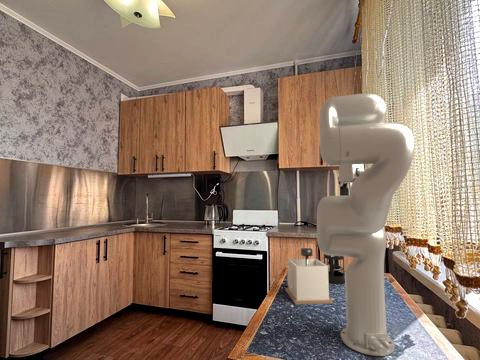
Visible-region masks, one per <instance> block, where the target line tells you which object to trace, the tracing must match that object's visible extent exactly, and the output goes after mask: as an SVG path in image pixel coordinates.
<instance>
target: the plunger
mask: <svg viewBox="0 0 480 360" xmlns="http://www.w3.org/2000/svg"><path fill="white" fill-rule="evenodd" d="M313 254H314V253H313V248H310V247H301V248H300V255H301V256H303V257H304V259H305V266H309V260H308V259H309V257H313V256H314V255H313Z"/></svg>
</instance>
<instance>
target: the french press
mask: <svg viewBox="0 0 480 360" xmlns="http://www.w3.org/2000/svg"><path fill="white" fill-rule="evenodd" d="M326 259H327V260H329V264H326ZM340 260H341V261H342V265H340ZM323 263H324V264H325V265H327V266H328V281H329V284H332V285H344V284H345V256H331V255H326V254H323ZM341 271H342V272H341Z"/></svg>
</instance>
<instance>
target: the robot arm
mask: <svg viewBox="0 0 480 360" xmlns="http://www.w3.org/2000/svg"><path fill="white" fill-rule="evenodd" d="M386 112H387V105H386V102H385V101H384V99H383V98H382V97H381V96H379V95H377V94H374V93H370V92H369V93H368V92H367V93H366V92H365V93H356V94H349V95H339V96H332V97H329V98H327V99H325V101H324V102H323V104H322V105H321V108H320V111H319V127H318V129H319V151H320V153H319V154H320V157H321V159H322V161H323V162H324V163H326V164H327V165H330V166H338V177H337V180H338V181H337V182H338V183H337V184H338V188H339V195H327V196H324V197H322V198H320V200H319V202H318V204H317V209H316V241H317V242H316V243H317V245H318V249H319V251H320V252H321V253H322V254H323V255H324V254H326V255H331V257H333V256H344V257H346V258H349V257H350V258H353V259H352V261H351V262H350V263H349V264H348V265H347V267H346V268H345V271H344V273H345V283H344V284H345V285H344V286H345V289H344V290H345V316H346V327H343V329H342V330H341V331H340V338H341V341H342V343H344V344H345V345H346V346H347V347H348V348H350V349H352V350H353V351H355V352H359V353H361V354H364V355H369V356H373V357H374V356H375V357H385V356H389V355H390V354H392V353H393V352H394V351H395V343H394V341H393V340H392V338H390V337H389V334H388V333H387V315H386V313H387V311H386V295H385V294H386V293H385V257H386V249H387V232H386V231H385V229H384V226H385V225H386V222H387V219H388V216H389V213H390V209H391V204H392V201H393V197H394V195H395V193H396V191H397V189H398V188H399V187H400V185H401V184H402V183H403V181H404V179H405V178H406V176H407V174H408V173H409V170H410V168H411V165H412V162H413V157H414V152H415V138H414V135H413V132H412V131H411V129H410V128H409V127H407V126H406V125H403V124H401V123H395V122H394V123H393V122H385V115H386ZM369 164H370V165H371V166H370V167H368V168H366V169H365V166H364V165H369ZM350 183H351V186H350V190H349V188H348V186H349V185H350ZM349 192H350V193H349Z"/></svg>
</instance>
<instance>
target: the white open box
mask: <svg viewBox="0 0 480 360" xmlns="http://www.w3.org/2000/svg"><path fill="white" fill-rule="evenodd" d="M308 260H309V266H305V258H292V259H291V258H289V259H287V266H286V267H287V270H286V271H287V272H286V273H287V276H286V277H287V286H288V287H286V288H285V292H286V293H287V295H288V296H289V298H290V299H291V301H292V302H293V303H294V305H320V304H321V305H324V304H325V305H326V304H334V300H333V299H332V298H330V291H329V290H330V288H329V287H330V286H329V284H330V283H329V281H328V271H329V270H328V266H327V265H328V264H326V263H325V264H324V262H322V261H320V259H318V258H308Z"/></svg>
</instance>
